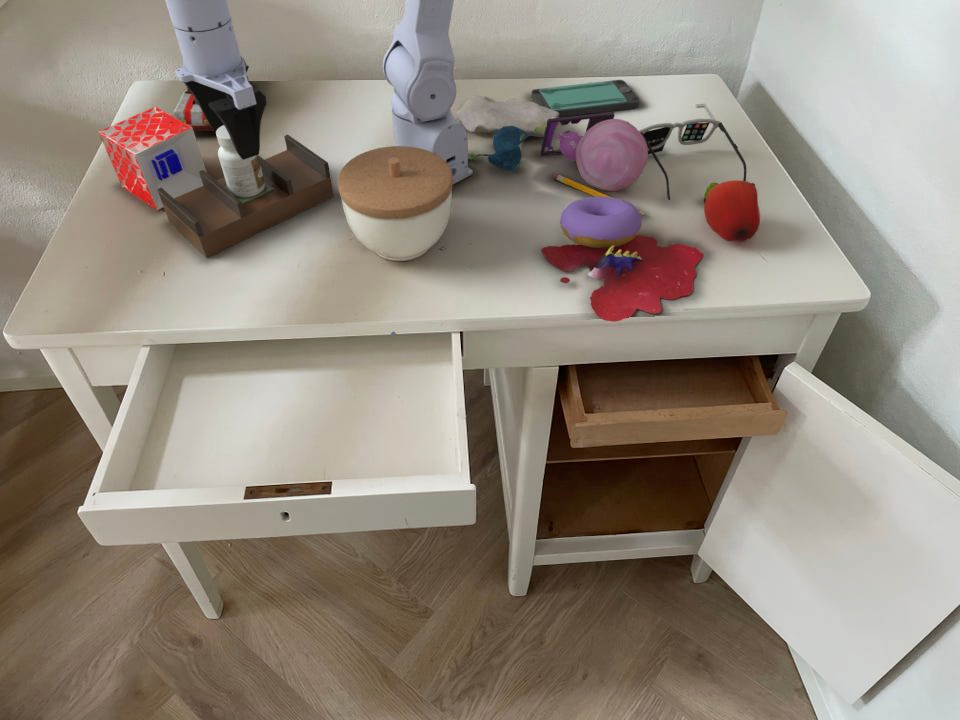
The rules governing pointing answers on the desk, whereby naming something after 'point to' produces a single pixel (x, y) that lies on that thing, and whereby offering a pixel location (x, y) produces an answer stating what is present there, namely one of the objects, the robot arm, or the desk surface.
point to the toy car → (193, 110)
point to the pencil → (581, 187)
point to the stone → (503, 115)
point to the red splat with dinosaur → (630, 274)
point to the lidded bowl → (397, 200)
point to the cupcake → (611, 155)
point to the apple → (732, 209)
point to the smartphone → (587, 98)
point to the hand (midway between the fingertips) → (235, 141)
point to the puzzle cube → (154, 155)
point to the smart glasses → (684, 137)
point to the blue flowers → (508, 146)
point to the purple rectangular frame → (569, 133)
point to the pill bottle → (239, 168)
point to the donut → (600, 222)
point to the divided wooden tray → (250, 200)
